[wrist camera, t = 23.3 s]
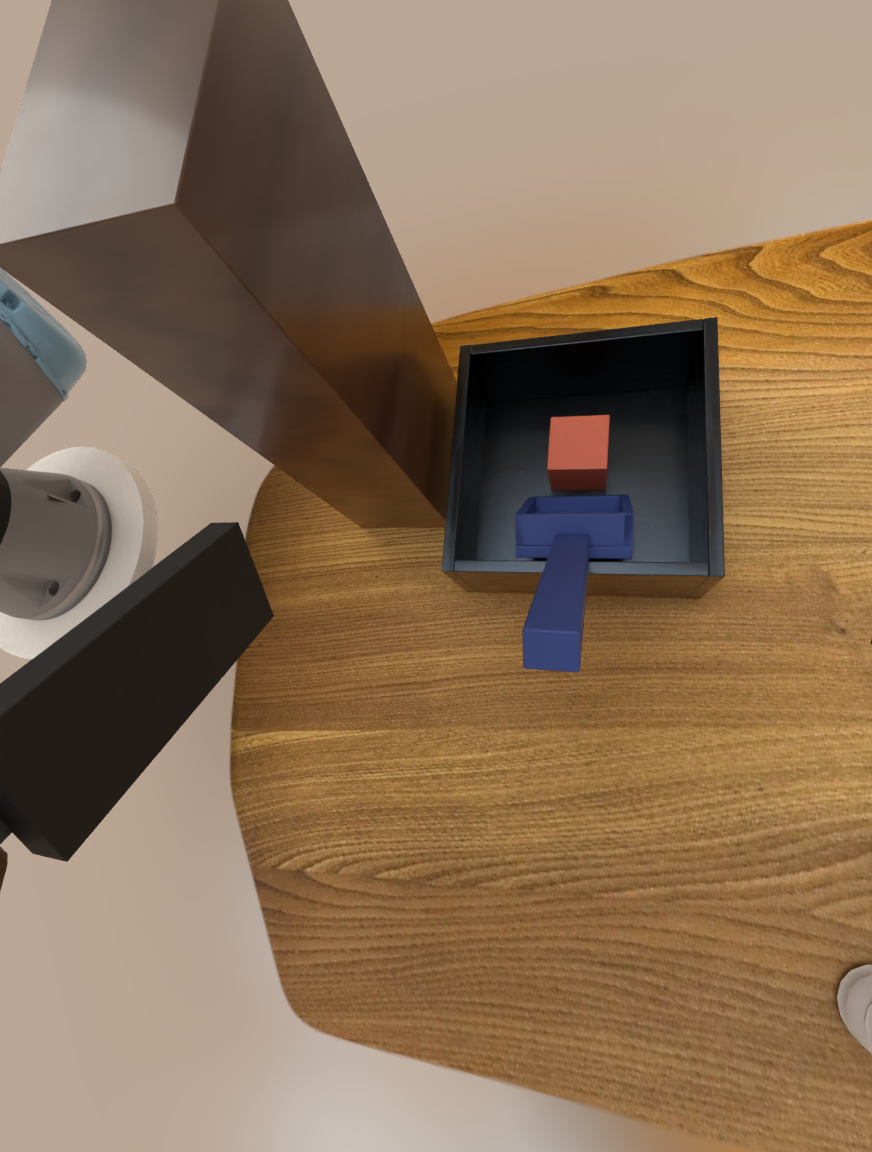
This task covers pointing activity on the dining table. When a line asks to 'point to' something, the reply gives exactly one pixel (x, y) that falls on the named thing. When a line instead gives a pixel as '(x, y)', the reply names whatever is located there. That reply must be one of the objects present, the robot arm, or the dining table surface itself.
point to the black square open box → (635, 454)
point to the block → (578, 452)
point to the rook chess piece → (857, 1004)
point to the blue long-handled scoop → (567, 568)
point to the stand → (230, 243)
